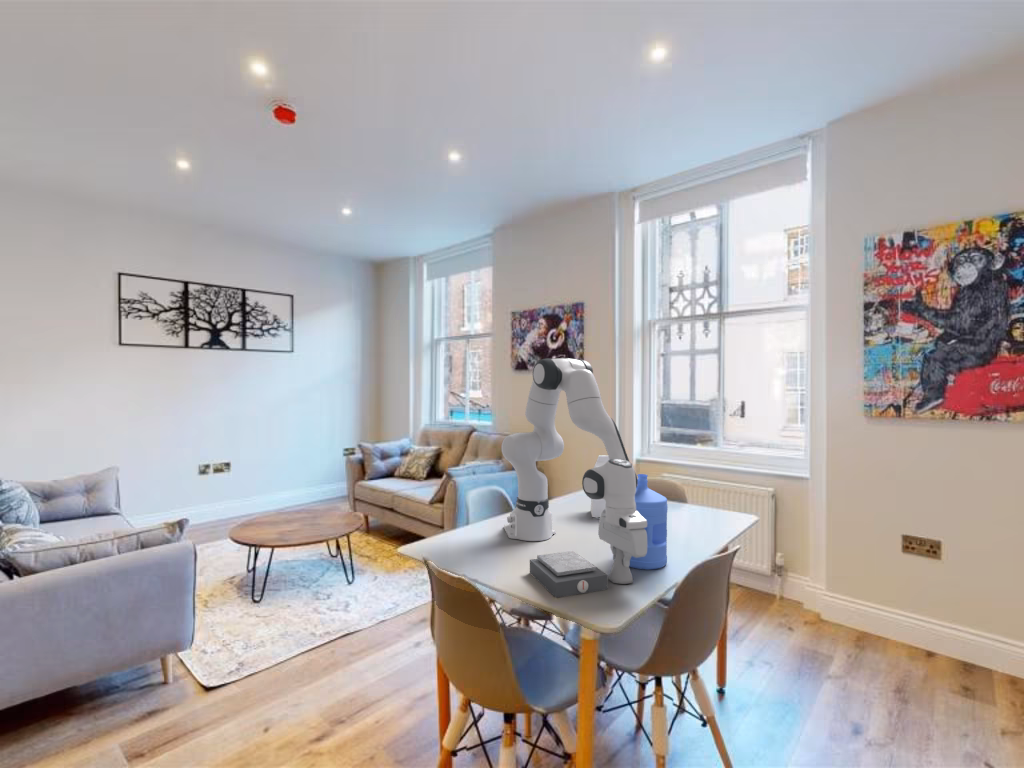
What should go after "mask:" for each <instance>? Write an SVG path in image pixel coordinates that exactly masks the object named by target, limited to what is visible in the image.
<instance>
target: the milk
mask: <svg viewBox="0 0 1024 768" xmlns="http://www.w3.org/2000/svg"><path fill="white" fill-rule="evenodd" d="M608 460H610V459H609V456H608V455H598V456H597V459H596V462H595V464H594V466H593V468H596V467H599V466H602V465H604V464H606V462H607V461H608ZM605 504H606V501H605V500H604V499H599V500H596V499H591V498H590V514H591V518H592V517H601V513H602V511H603V510H605Z"/></svg>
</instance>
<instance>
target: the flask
mask: <svg viewBox="0 0 1024 768" xmlns="http://www.w3.org/2000/svg"><path fill="white" fill-rule="evenodd" d="M622 559H624V554H623V551H622V550H620V549H618V548H616V558H615V561H614V560H613V565H612V567H611V570H610V572H609V575H608V581H610V582H612V583H614V584H620V585H626V584H632V583H634V578H633V574H632V571H631V569H630V567H629V566H628V567H625V566H623V565H622Z"/></svg>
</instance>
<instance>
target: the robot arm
mask: <svg viewBox="0 0 1024 768" xmlns="http://www.w3.org/2000/svg"><path fill="white" fill-rule="evenodd" d="M561 391H564V393H565V395H566V403H567V407H568V414H569V417H570V419H571V421H572V423H573V424H574V425H575V427H577V428H579V429H581V430H582V431H585V432H588V433H590V434H592V435H594V436H597V438H599V439H600V440H601V441H602V443H603V444H604V448H605V450H606V453H607V456H609V459H610V460H608V461H607V462H606V464H604V465H602V466H599V467H596V468H594V467H593V468H589V469H587V470H586V471H585V472H584V474H583V476H582V481H581V482H582V483H581V485H582V490H583V492H584V494H585V496H586V497H588V498H589V499H590V500H591V499H596V500H599V499H604V500H605V501H606V504H605V510H603V511H602V513H601V517H600V518H599V521H598V537H599V538H598V539H600V540H601V541H603V542H604V543H605V542H606V543H607V544H609V545H610V547H609V548H610V550H611V553H612V560H613V562H614V561H615V558H616V548H618V549H620V550H622V551H623V554H624V559H622V565H623V566H625V567H628V566H630V559H631V557H632V556H633V557H636V558H637V557H644V556H645V555H646V554H647V533H646V530H645V529H644V528H646V527H647V520H646V519H645V518H643V517H642V516H641V515H640V513H639V512H638V511H637V510H636V502H635V494H636V488H637V486H638V476H637V475H638V474H637V473H636V471H635V468H634V465H633V463H631V462H630V459H629V457H628V453H627V451H626V449H625V444H624V443H623V440H622V437H621V435H620V431H619V429H618V426H617V424H616V423H615V420H614V419H613V418H612V417H610V415H609V414H608V412H607V410H606V408H605V406H604V403H603V399H602V395H601V391H600V388H599V385H598V383H597V379H596V377H595V375H594V370H593V367H592V365H591V363H590V362H588V361H587V360H585V359H582V358H581V359H579V358H577V359H576V358H571V357H570V358H569V357H560V358H550V357H549V358H542V359H539V360H538V361H536V362H535V364H534V366H533V369H532V383H531V387H530V390H529V393H528V396H527V397H528V398H527V403H526V407H525V418H526V420H527V421H528V422H529V423H530V424H532V425H533V430H532V431H529V432H516V433H512V434H508V435H506V436H505V437H504V439H503V440H502V443H501V450H500V451H501V453H502V456H503V458H504V459H505V460H506V461H507V462H509V463H510V464H511V465H512V467H513V468H514V470H515V471H514V472H515V473H516V476H517V477H516V479H517V487H518V488H517V491H518V492H517V495H518V496H517V497H516V504H515V508H514V509H513V510H512V511H511V512H510V514H509V516H507V517H506V518H507V523H505V524H504V525H503V529H504V530H505V533H506V536H507V537H508V538H509V539H512V540H521V541H526V542H527V541H528V542H539V541H547V540H548V539H549V540H550V539H551V537H552V536H553V534H554V535H556V532H557V531H556V530H555V529H553V515H552V511H550V510H549V507H550V506H549V505H550V499H549V498H548V493H549V492H548V491H549V489H548V485H549V484H548V481H549V480H548V478H547V476H546V474H545V473H543V472H541V471H540V470H538V468H537V462H541V461H543V462H544V461H550V460H553V459H556V458H559V457H561V456H562V455H563V453H564V450H565V442H564V440H563V439H564V438H563V437H562V436H561V434H560V433H558V431H557V428H556V416H557V415H556V414H557V409H558V404H559V401H560V395H561Z"/></svg>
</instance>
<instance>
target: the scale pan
mask: <svg viewBox="0 0 1024 768" xmlns="http://www.w3.org/2000/svg"><path fill="white" fill-rule="evenodd" d="M536 559H538V560H539V561H540V562H542V563H543V564H544V565H545V566H546V567H548V568H549V569H550V570H551V571H552V572H553V573H555V574H556V575H557V576H562V575H569V574H575V573H582V572H589V571H596V567H597V566H596V565H594V564H593V563H591V562H590V561H588V560H587V559H585V558H584V557H583V558H582V556H581V555H580V556H579V554H578V553H577V552H575V551H573V550H570V551H561V552H555V553H554V552H553V553H546V554H539V555H538V554H537V556H536ZM592 564H593V565H592ZM595 566H596V567H595Z"/></svg>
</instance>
